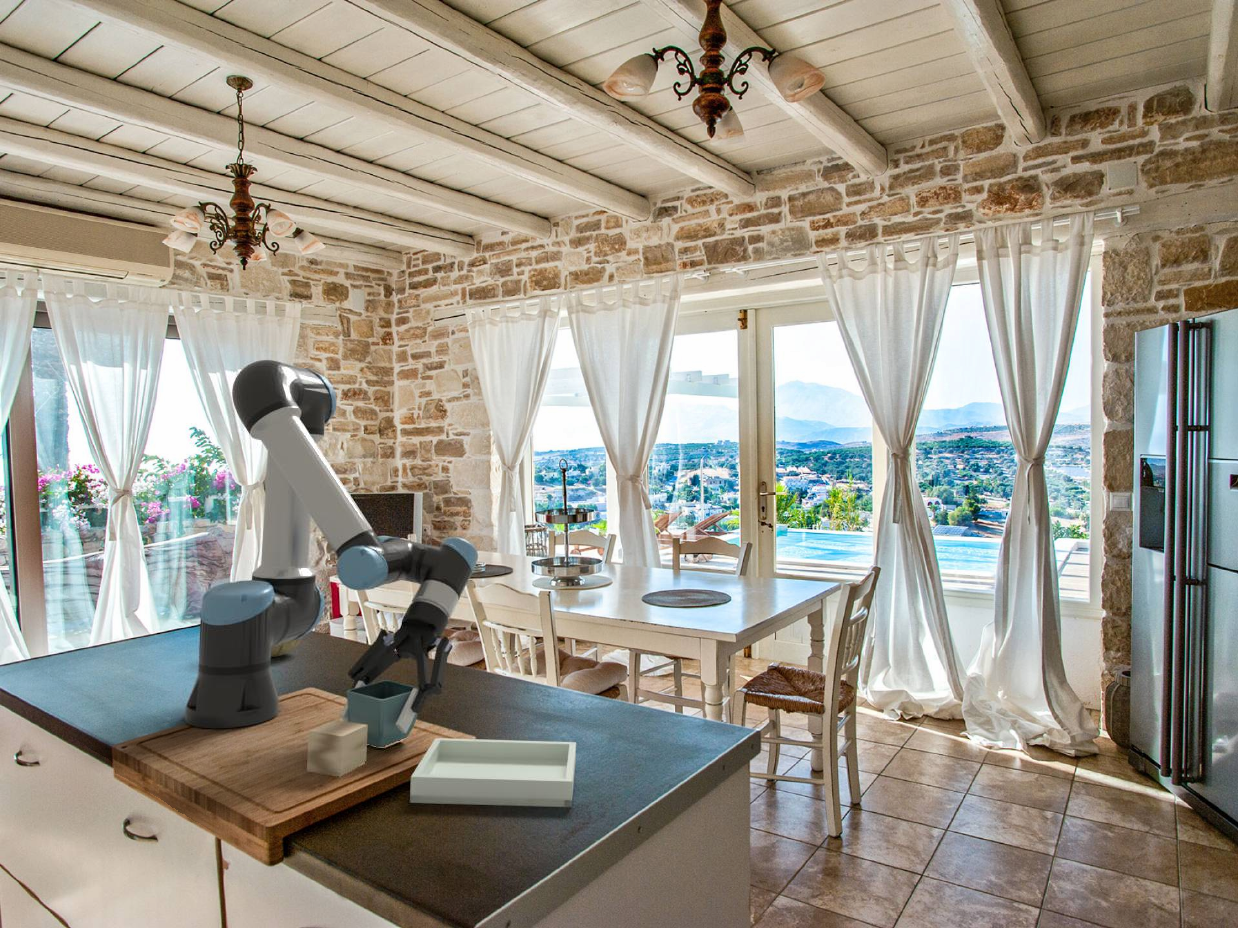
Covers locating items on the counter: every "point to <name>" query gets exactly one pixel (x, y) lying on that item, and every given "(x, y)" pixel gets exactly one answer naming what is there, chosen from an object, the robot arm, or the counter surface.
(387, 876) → the counter surface
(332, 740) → the beech block
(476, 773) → the tray
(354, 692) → the flower pot
